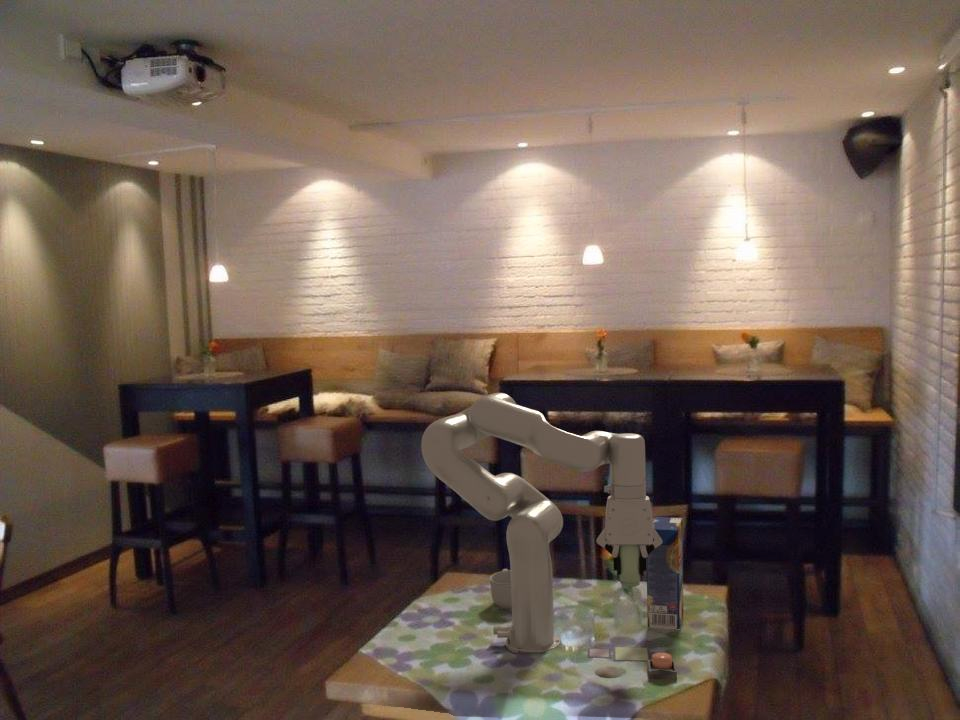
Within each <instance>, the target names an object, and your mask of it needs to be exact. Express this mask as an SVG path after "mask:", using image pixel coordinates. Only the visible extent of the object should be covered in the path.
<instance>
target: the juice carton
mask: <svg viewBox="0 0 960 720" xmlns="http://www.w3.org/2000/svg"><path fill="white" fill-rule="evenodd" d="M652 519H653V528H654V529H655V531H656V532H657V533H658V535H659V536H660V537H661V539H662V541H663V543H662V544H661V545H659V546H658V547H656V548H655V549H654V550H653V551H652V552H651V553H650V554H649V555H648V556H647V557H646V605H647V607H646V608H647V613H646V614H647V628H648V627H651V629H661V628H668V629H667V630H674V629H681V625H682V622H683V617H684V613H685V612H684V559H683V558H684V551H683V547H684V546H683V545H684V544H683V543H684V541H683V517H665V516H662V517H661V516H652ZM653 541H654V538H653ZM646 546H647V545H646Z"/></svg>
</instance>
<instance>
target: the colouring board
mask: <svg viewBox="0 0 960 720" xmlns="http://www.w3.org/2000/svg"><path fill="white" fill-rule="evenodd" d="M612 647H613V650H612V648H593V647H592V648H587V658H589V659H590V658H593V659H594V658H595V659H599V658H600V659H611V658H612V657H611V656H612V651H613V662H614V661H615V662H645V663H646V662H647V670H648V671H647V672H648V679H649V680H668V681H677V680H678V669H677V666H676V665H677V664H676V660H672V668H670V669H667V670H659V669H656V668H654V667H653V666H652V659H651V656H650V654H651V653H650V648H649V647H648V646H647V647H646V646H612ZM594 674H595V675H596V676H598V677H599V678H603V679H615V678H619V677H621V676H622V675H623V674H624V673H623V670H622V669H620V668H618V667H615V666H608V665H607V666H600V667H598V668H596V669H595V670H594Z"/></svg>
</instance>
